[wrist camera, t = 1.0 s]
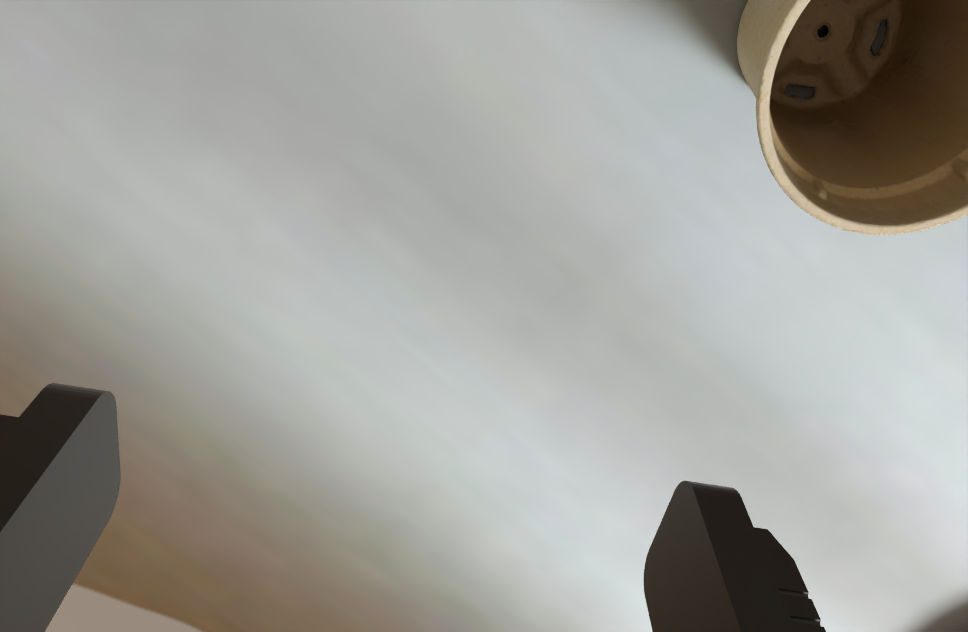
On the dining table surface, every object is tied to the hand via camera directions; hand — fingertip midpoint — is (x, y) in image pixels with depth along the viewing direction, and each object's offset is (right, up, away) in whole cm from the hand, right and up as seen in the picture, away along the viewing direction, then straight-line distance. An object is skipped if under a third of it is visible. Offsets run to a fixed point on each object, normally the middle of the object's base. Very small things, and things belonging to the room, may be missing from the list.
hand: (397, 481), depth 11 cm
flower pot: (+14, +13, +18) cm, 27 cm away
